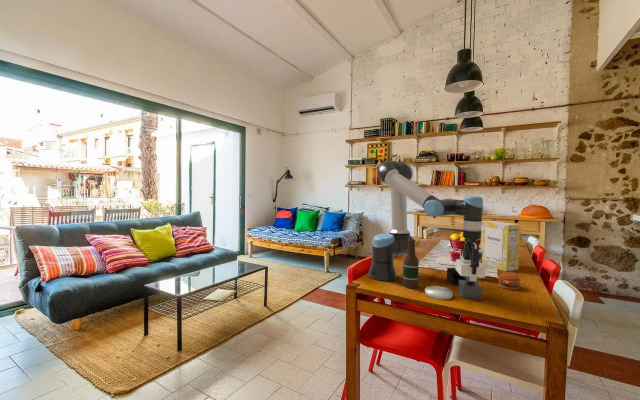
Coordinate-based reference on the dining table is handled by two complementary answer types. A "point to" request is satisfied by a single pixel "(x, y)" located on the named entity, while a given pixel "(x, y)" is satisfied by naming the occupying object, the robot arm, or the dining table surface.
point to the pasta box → (500, 245)
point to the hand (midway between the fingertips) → (469, 277)
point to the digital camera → (454, 276)
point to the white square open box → (464, 268)
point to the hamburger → (509, 281)
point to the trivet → (438, 292)
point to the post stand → (470, 289)
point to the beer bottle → (410, 267)
